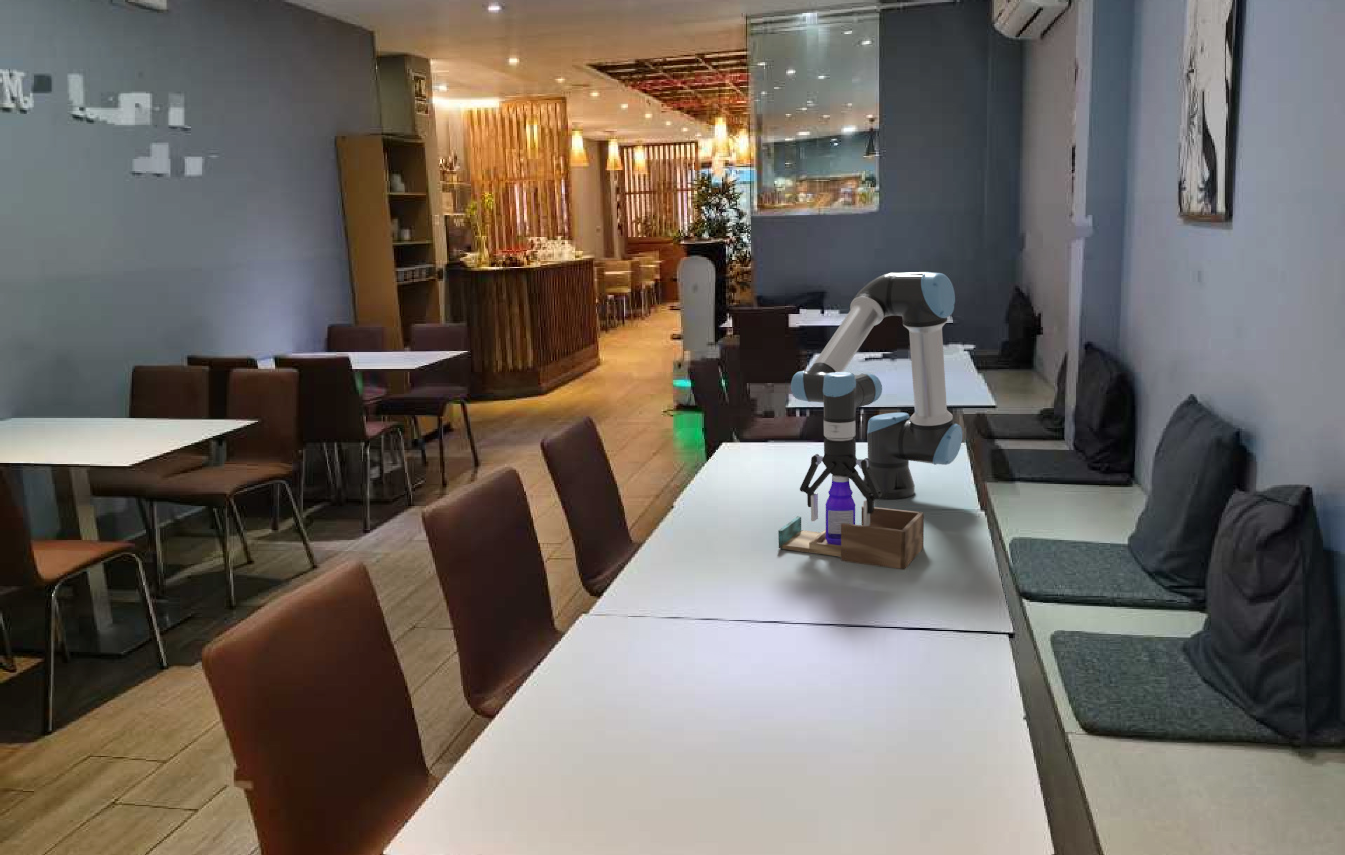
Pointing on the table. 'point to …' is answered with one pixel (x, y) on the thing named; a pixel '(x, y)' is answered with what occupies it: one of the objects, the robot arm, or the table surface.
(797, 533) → the tray
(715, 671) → the table surface
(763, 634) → the table surface
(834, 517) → the bottle
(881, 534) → the housing
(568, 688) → the table surface
